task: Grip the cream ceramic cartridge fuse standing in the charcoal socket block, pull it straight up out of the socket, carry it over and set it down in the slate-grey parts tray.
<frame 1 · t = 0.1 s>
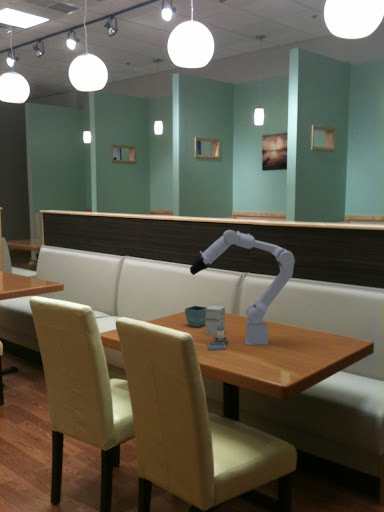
hand: (191, 272, 230), 32 cm above the table, tool tilted 50°, fingers open, 7 cm apart
socket: (220, 343, 235), on the table
flower pot: (196, 326, 265), on the table
supplement box: (215, 333, 250), on the table
fuse: (220, 342, 235), resting on socket
tray: (216, 348, 227), on the table
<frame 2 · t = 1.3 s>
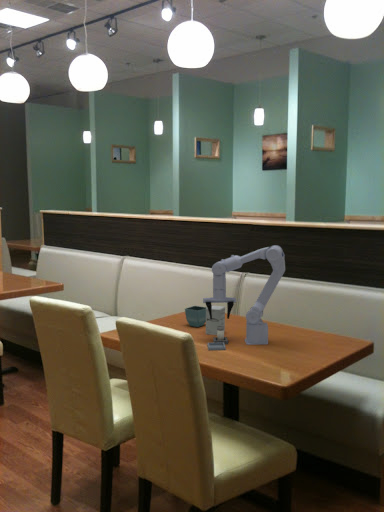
hand: (219, 318, 238), 10 cm above the table, tool pointing down, fingers open, 7 cm apart
nothing on the table moved.
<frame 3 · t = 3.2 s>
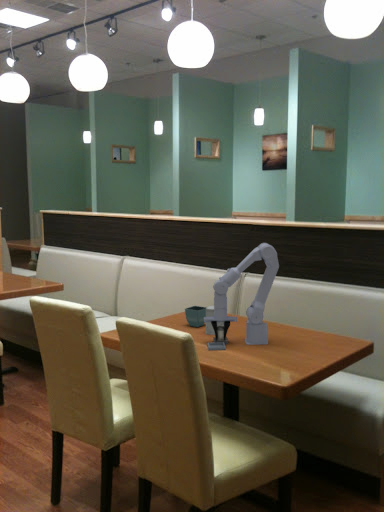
hand: (220, 337, 234), 2 cm above the table, tool pointing down, fingers closed on fuse, 3 cm apart
fuse: (220, 342, 235), resting on socket, touching gripper
everything else where it was.
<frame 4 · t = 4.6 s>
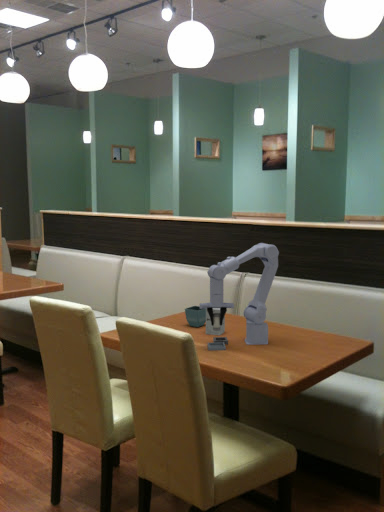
hand: (216, 324, 227), 10 cm above the table, tool pointing down, fingers closed on fuse, 3 cm apart
fuse: (216, 329, 227), point 8 cm above the table, touching gripper
everything else where it was.
when the fingers open (3 cm above the table, at t = 6.3 s): fuse stays where it is, resting on tray.
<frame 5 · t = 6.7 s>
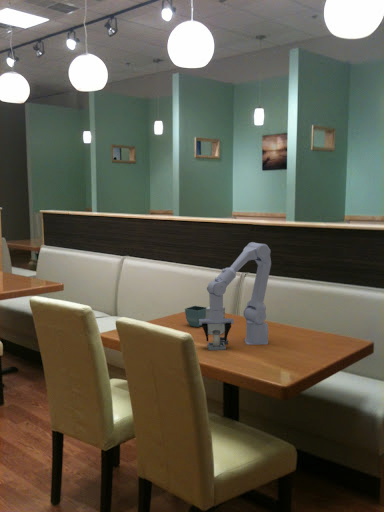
hand: (216, 340, 227), 3 cm above the table, tool pointing down, fingers open, 7 cm apart
fuse: (216, 347, 227), point 1 cm above the table, touching tray
everything else where it was.
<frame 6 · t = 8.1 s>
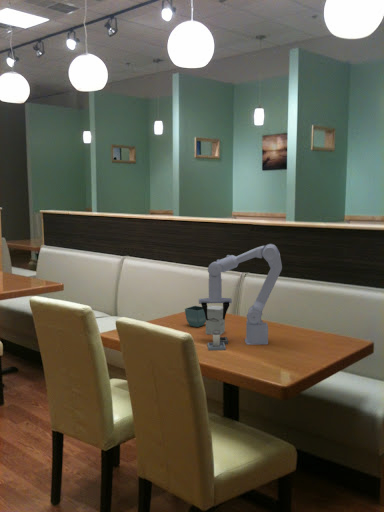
hand: (215, 319, 237), 10 cm above the table, tool pointing down, fingers open, 7 cm apart
nothing on the table moved.
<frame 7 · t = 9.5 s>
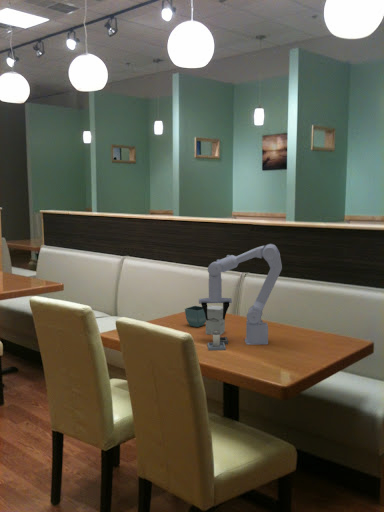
hand: (215, 319, 237), 10 cm above the table, tool pointing down, fingers open, 7 cm apart
nothing on the table moved.
at the end: fuse 0.1 cm off-centre on the tray, point 0.5 cm above the tray's base; the gripper is holding nothing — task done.
